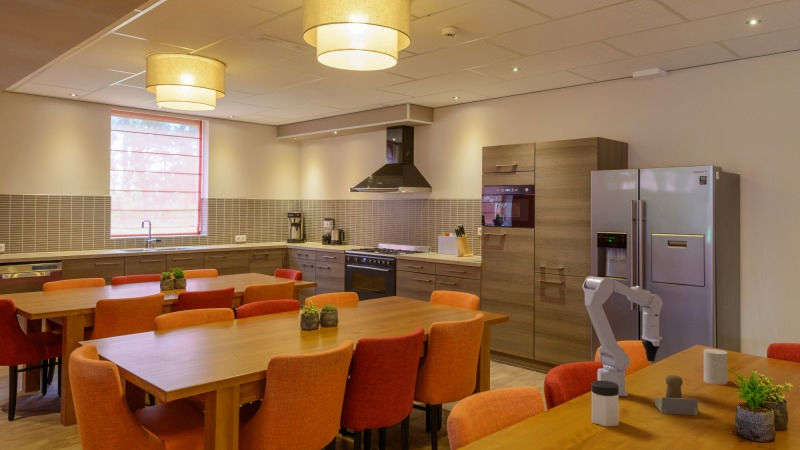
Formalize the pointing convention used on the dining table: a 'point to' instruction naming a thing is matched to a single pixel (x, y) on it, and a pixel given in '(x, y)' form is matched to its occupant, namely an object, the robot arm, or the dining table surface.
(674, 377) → the cork
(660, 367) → the dining table surface
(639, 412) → the dining table surface
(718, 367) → the white stone cylinder
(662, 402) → the grey rectangular box
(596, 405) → the jar
